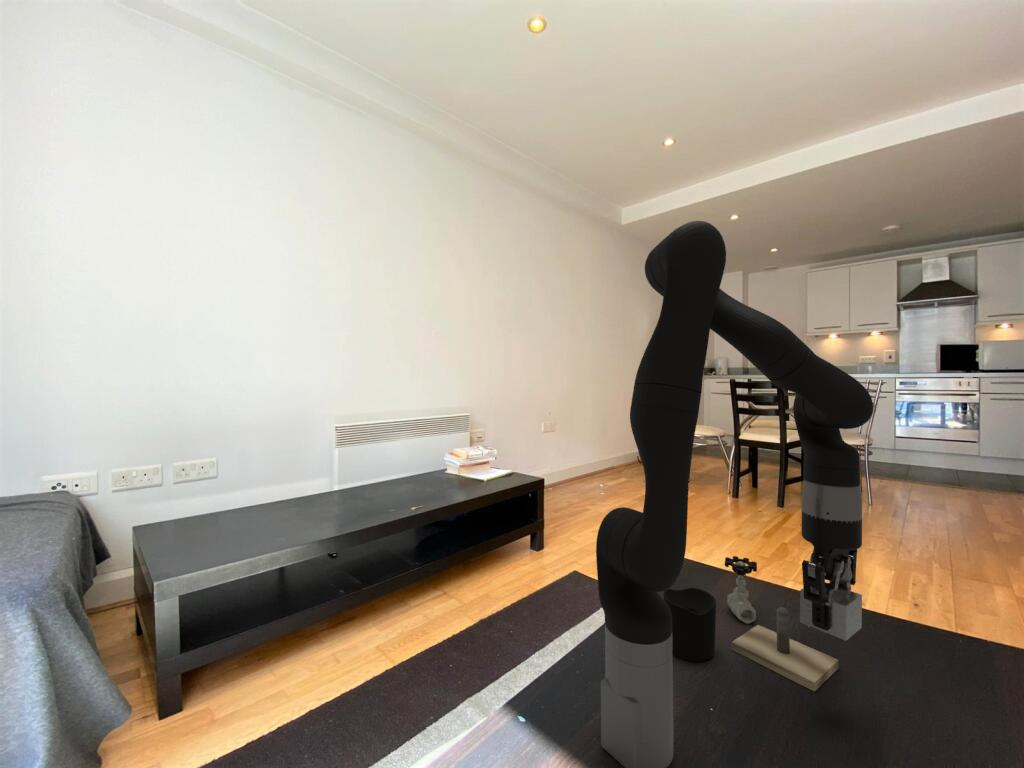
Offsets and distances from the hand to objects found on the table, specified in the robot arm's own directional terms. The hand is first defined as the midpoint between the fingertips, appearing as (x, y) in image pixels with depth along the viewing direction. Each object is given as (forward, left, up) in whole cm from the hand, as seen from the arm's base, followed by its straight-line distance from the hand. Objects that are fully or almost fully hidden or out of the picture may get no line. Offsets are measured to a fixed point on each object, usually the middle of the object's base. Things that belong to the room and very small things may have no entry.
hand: (830, 620), depth 68 cm
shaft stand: (+9, +11, -15) cm, 20 cm away
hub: (0, 0, -1) cm, 1 cm away
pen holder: (-2, +23, -15) cm, 27 cm away
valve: (+17, +23, -15) cm, 32 cm away
